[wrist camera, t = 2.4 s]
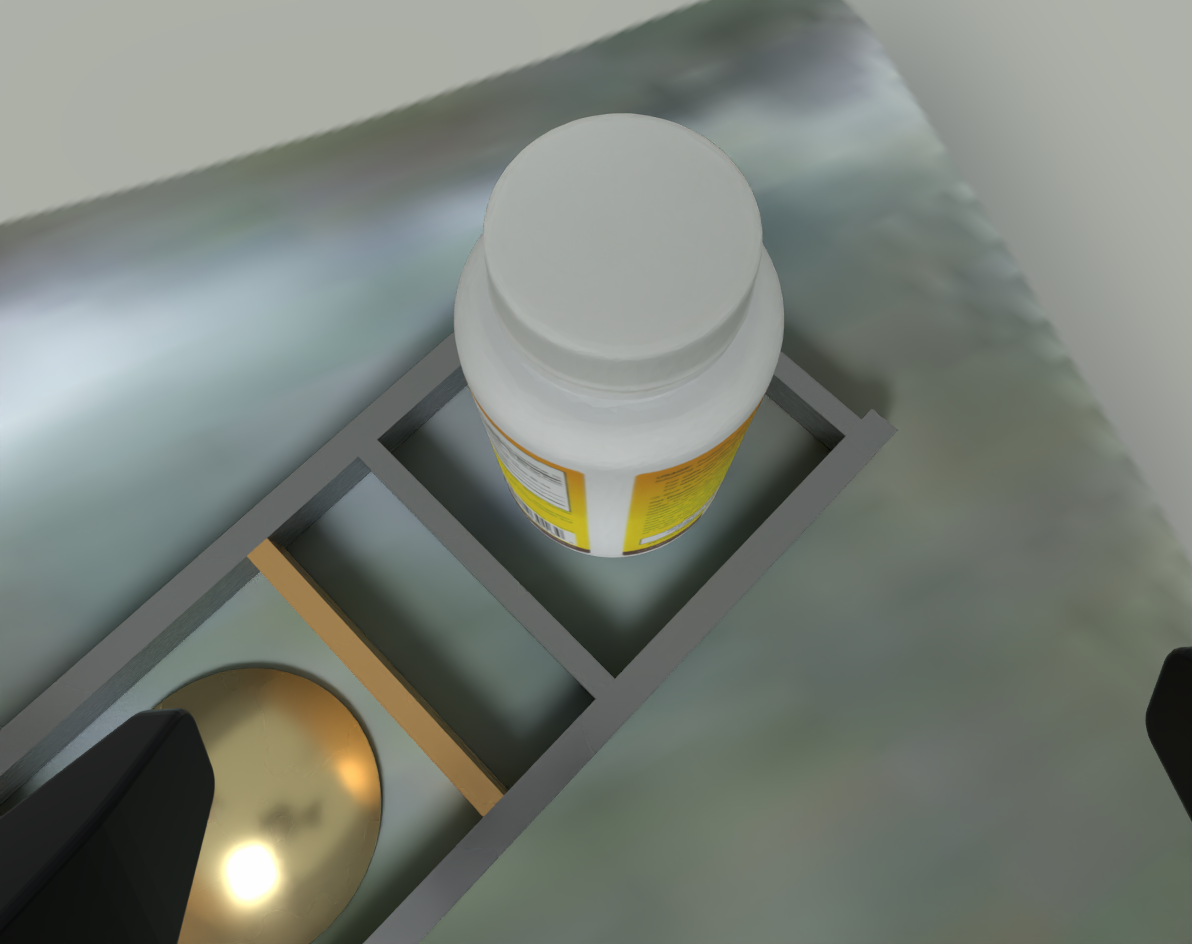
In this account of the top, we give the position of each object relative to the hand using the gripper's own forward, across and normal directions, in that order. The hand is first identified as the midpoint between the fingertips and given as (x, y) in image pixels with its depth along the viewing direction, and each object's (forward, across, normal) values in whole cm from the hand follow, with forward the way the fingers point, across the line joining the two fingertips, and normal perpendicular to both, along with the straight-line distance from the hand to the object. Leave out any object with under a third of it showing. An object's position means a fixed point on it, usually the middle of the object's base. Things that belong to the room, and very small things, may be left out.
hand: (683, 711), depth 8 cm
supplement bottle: (+13, 0, +4) cm, 14 cm away
